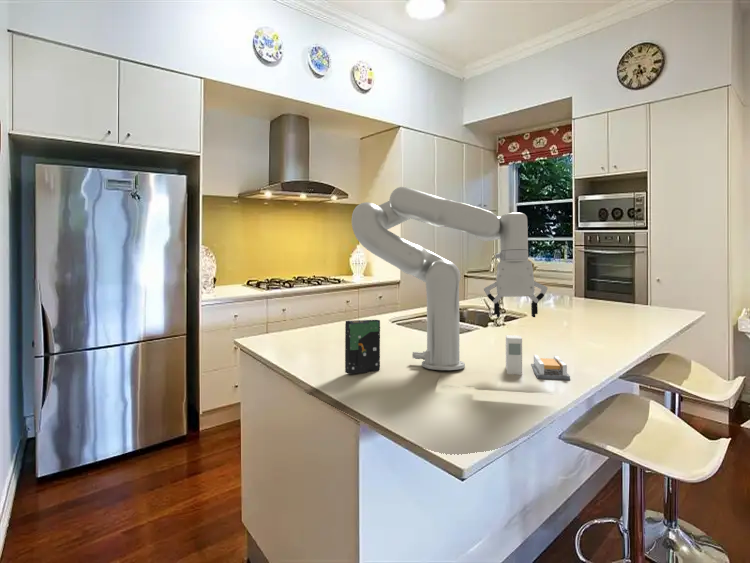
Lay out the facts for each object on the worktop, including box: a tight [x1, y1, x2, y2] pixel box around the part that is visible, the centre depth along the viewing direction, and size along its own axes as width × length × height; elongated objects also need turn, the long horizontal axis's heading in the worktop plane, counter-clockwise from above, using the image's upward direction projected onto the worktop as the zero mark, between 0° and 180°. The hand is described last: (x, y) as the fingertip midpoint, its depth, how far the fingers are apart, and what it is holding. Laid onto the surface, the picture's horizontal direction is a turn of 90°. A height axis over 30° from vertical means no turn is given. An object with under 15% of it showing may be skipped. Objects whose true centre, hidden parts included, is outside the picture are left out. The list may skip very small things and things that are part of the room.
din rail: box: [530, 354, 571, 381], centre depth 124 cm, size 8×16×4 cm, turn 166°
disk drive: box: [344, 319, 381, 375], centre depth 126 cm, size 10×3×15 cm, turn 120°
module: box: [505, 334, 523, 376], centre depth 126 cm, size 4×7×10 cm, turn 166°
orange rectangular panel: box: [539, 357, 560, 370], centre depth 124 cm, size 4×11×1 cm, turn 166°
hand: (515, 316), depth 126 cm, fingers open, 9 cm apart
